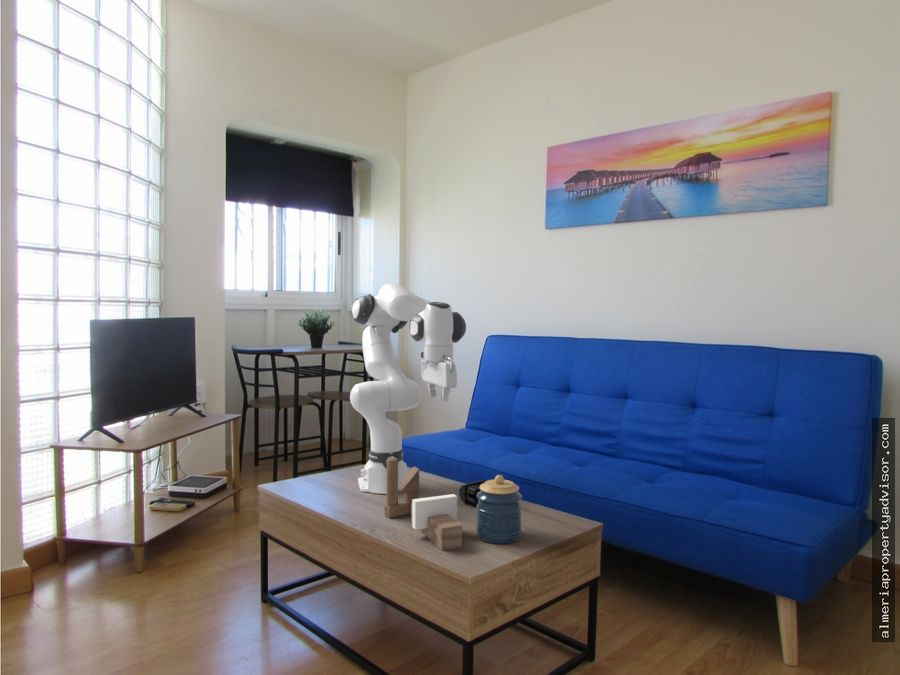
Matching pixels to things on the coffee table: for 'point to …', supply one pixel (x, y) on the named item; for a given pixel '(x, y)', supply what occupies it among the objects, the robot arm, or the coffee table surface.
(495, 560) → the coffee table surface
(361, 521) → the coffee table surface
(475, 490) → the end cap
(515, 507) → the canister
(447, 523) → the walnut crossbar
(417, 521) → the white rectangular slab
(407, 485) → the wooden block
